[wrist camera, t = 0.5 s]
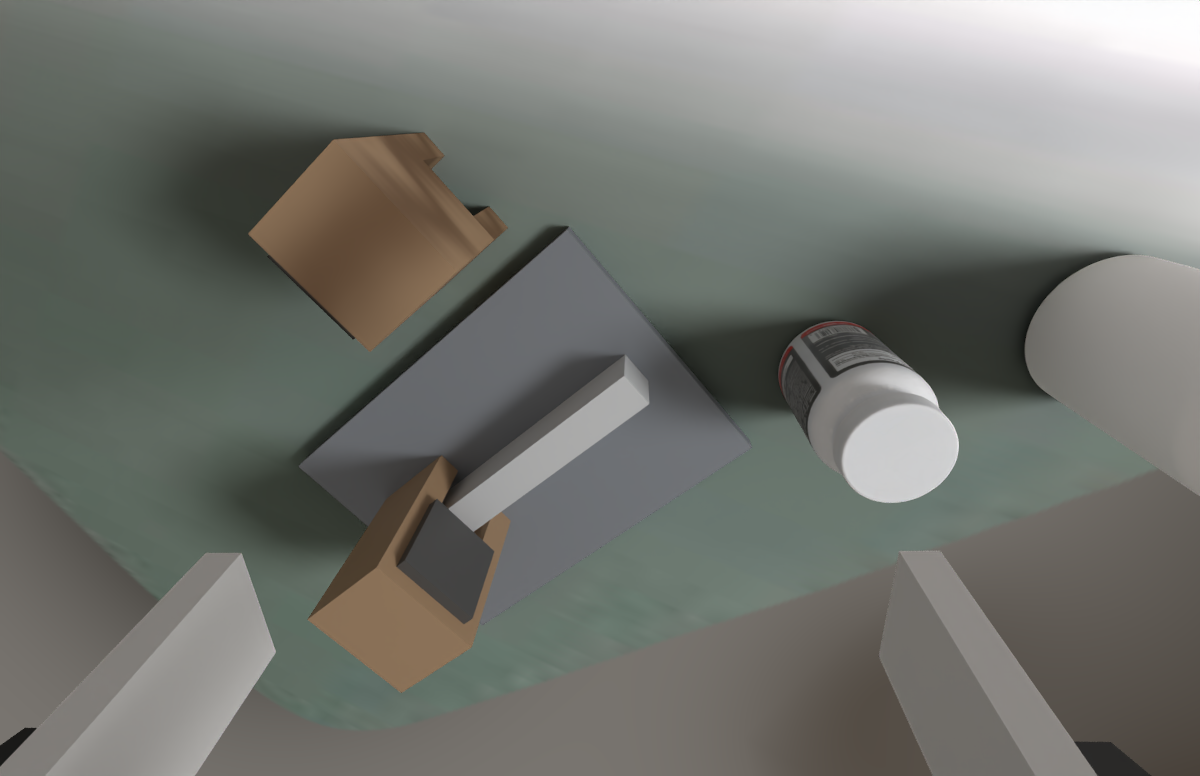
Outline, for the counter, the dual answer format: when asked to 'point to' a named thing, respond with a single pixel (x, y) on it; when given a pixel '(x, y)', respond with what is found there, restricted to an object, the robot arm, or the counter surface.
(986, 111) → the counter surface
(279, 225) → the notched tan block
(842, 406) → the pill bottle
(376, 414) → the rail
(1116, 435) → the white piece
